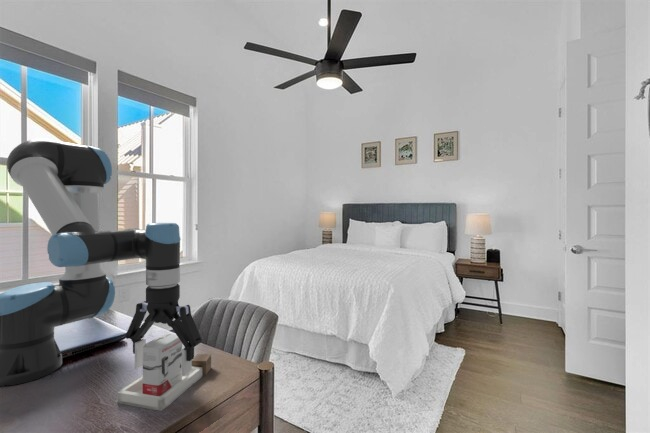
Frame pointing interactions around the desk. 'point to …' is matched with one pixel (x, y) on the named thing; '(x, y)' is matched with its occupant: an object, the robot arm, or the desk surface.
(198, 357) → the block
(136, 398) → the parts tray
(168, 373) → the ink box
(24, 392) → the desk surface
